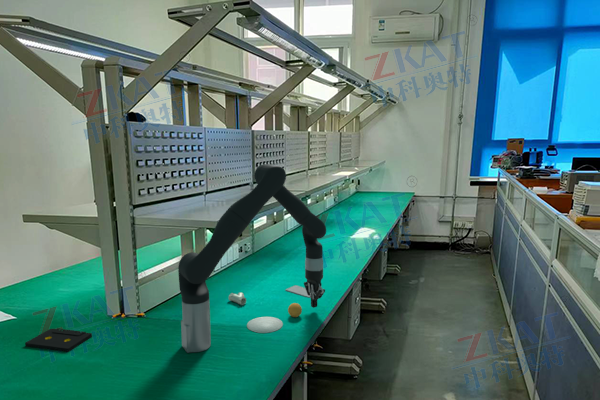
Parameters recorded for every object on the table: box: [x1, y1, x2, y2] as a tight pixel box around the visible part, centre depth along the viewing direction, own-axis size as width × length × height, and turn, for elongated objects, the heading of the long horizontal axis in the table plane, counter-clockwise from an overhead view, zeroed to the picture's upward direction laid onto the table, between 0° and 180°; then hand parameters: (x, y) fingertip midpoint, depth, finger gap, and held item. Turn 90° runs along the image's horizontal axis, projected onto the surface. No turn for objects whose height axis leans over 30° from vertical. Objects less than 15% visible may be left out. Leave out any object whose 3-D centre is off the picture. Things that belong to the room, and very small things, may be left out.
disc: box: [246, 316, 284, 334], centre depth 161 cm, size 14×14×1 cm
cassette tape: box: [24, 328, 93, 353], centre depth 148 cm, size 18×12×2 cm, turn 77°
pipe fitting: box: [228, 292, 247, 306], centre depth 184 cm, size 8×4×7 cm
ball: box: [287, 302, 303, 318], centre depth 168 cm, size 6×6×6 cm
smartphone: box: [284, 284, 311, 299], centre depth 196 cm, size 8×1×15 cm
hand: (314, 306), depth 173 cm, fingers closed
